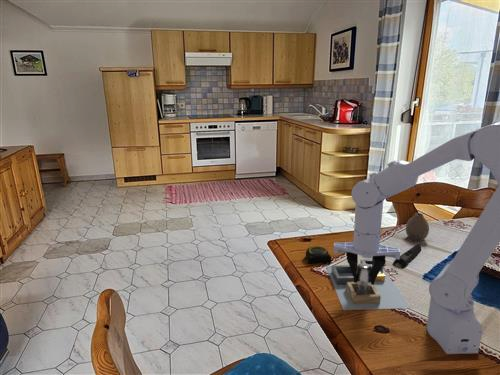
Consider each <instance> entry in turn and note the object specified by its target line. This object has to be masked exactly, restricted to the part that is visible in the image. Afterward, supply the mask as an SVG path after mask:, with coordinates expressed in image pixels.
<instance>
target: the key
mask: <svg viewBox="0 0 500 375" xmlns="http://www.w3.org/2000/svg"><path fill="white" fill-rule="evenodd" d="M369 265H370V266H371V267H372V264H369ZM379 281H385V275H384V273H381V272H379V273H378V275H377V277H376V279H375V282H379Z"/></svg>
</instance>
